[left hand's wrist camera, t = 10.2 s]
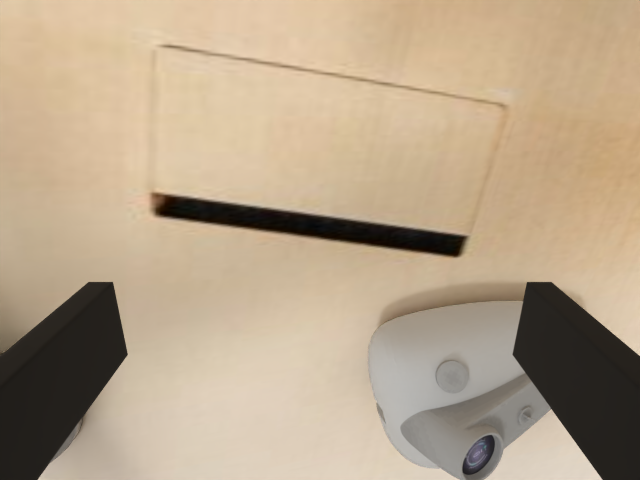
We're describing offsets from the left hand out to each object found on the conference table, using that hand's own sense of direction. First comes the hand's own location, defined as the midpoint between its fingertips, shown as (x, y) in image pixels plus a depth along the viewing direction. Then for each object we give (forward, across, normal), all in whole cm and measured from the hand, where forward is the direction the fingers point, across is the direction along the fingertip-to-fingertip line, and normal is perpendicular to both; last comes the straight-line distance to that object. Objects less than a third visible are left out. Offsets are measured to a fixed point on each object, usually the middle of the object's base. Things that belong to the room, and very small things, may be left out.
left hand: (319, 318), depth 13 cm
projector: (+28, -17, +21) cm, 38 cm away
